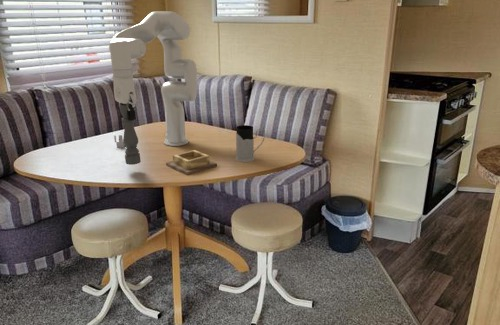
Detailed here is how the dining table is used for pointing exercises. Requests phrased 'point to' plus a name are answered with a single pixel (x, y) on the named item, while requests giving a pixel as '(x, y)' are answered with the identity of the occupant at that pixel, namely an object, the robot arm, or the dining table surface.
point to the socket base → (191, 162)
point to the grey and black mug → (245, 143)
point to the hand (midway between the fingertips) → (128, 118)
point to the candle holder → (129, 138)
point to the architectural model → (120, 143)
